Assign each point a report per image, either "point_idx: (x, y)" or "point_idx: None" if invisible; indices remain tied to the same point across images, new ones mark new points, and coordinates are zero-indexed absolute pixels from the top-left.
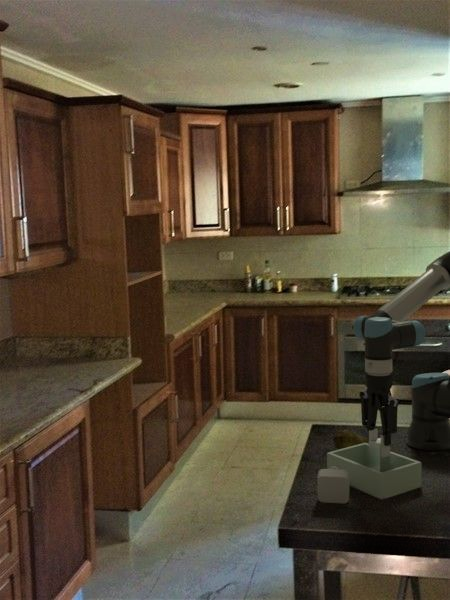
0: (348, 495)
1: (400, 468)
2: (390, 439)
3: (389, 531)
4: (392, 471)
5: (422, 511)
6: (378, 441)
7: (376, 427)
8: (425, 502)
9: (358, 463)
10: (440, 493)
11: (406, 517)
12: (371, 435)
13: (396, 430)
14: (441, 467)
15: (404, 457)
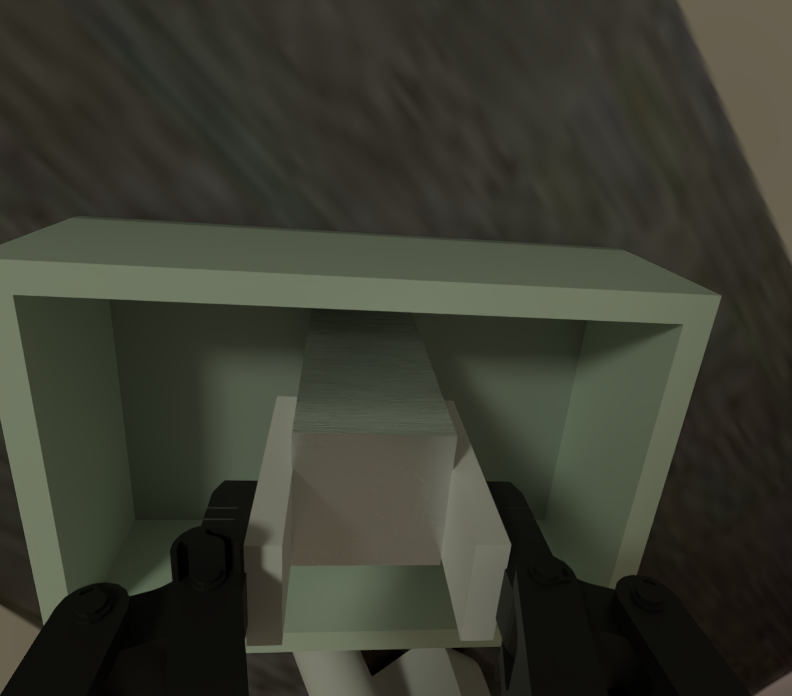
0: (488, 692)
1: (657, 504)
2: (537, 532)
3: (744, 682)
4: (636, 565)
5: (771, 486)
6: (377, 529)
7: (231, 534)
8: (739, 402)
9: (380, 631)
10: (756, 244)
11: (741, 572)
12: (287, 585)
13: (682, 615)
14: None
15: (548, 308)
